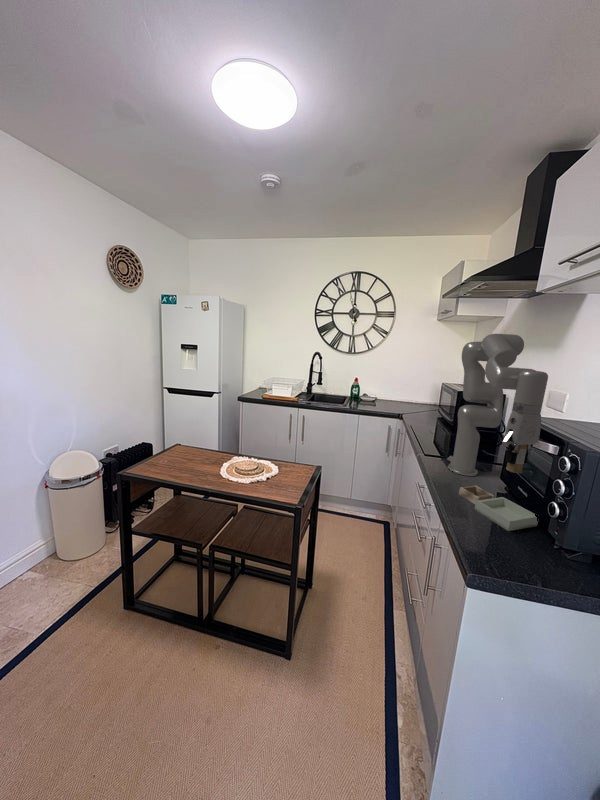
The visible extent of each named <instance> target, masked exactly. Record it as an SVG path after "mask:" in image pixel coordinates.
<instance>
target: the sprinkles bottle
mask: <svg viewBox="0 0 600 800" xmlns="http://www.w3.org/2000/svg"><path fill="white" fill-rule="evenodd" d="M512 442H514V441H512ZM512 446H513V447H514V444H512ZM526 450H527V445H519V446H518V448H517V451H516V453H517V458H516V463H515V464H511V463H509V462H506V463H507V464H506V467H505V469H506V471H508V472H510V473H514V474H522V473H523V467H524V464H525V463H524V460H525V455H526Z"/></svg>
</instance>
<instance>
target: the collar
mask: <svg viewBox="0 0 600 800" xmlns="http://www.w3.org/2000/svg"><path fill="white" fill-rule="evenodd" d="M458 495H459V496H460V497H462V498H463V499H465V500H467V501H468V502H470V503H472V504H473V505H475V504H476V501H478V500H485V499H492V498H495V495H494V494H492V493H490V492H489V491H487V490H485V489H483V488H481V487H480V486H478V485H470V486H461V487H459V490H458Z"/></svg>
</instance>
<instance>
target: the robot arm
mask: <svg viewBox="0 0 600 800" xmlns="http://www.w3.org/2000/svg"><path fill="white" fill-rule="evenodd" d="M524 349H525V341H524V339H523V338H522V337H521V335H519V334H513V333H512V334H510V333H509V334H508V333H491V334H487V335H486V336H484V338H483V339H482V341H470V342H467V343H466V344H465V345H464V346H463V348H462V351H461V363H462V367H463V374H464V375H463V385H462V386H463V388H462V398H463V399H464V400H465V401H467V402H469V403H476V405H475V404H464V405H462V406H460V407H459V409H458V411H457V431H456V435H455V436H456V437H455V443H454V450H453V455H449V456H448V457H447V458H446V460H448V461H449V462H450V463H449V464H448V465H447V469H448V468H449V469H450V471H451V472H452V471H453V472H452V473H454V474H457V475H461V476H465V477H466V476H467V477H475V476H477V475H478V473H479V472H478V470H477V468H475V467H476V463H477V458H478V457H477V456H478V452H479V445H480V439H481V435H480V433H479V431H478V430H477V427H481V428H492V429H494V428H498V427H499V426H500V425H501V423H502V418H503V406H504V404H503V403H504V390H513V391H515V392H514V394H515V395H514V398H513V403H512V408H511V412H510V415H509V417H508V421H507V424H506V428H505V432H504V439H503V440H502V441H501V443H502V444H503V445H504V446H505V450H506V454H505V458H504V461H505V462H506V463H508V462H509V463H511V464H515V463H516V458H517V453H516V451H517V448H518V446H519V445H527V450H526V455H525V460H524V464H527V463H528V458H529V455H530V452H531V449H532V447H533V446H534V445H536V444H538V442H539V440H540V435H541V428H542V414H541V412H542V409H543V404H544V400H545V399H544V398H545V395H546V390H547V384H548V380H549V375H548V373H547V372H545V371H541V370H535V369H533V368H524V367H522V368H520V367H511V366H512V365H513V364H514V363H515V362H516V361H517V358H518V356H520V354H521V353H523V350H524ZM480 362H486V364H485V368H484V367H483V365H482V364H481V363H480ZM486 379H487V380H488V382H487V381H486ZM477 403H479V404H487V405H477ZM512 441H514V442H512ZM512 444H514V447H513V446H512ZM533 444H534V445H533ZM449 469H448V470H449Z"/></svg>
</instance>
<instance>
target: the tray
mask: <svg viewBox="0 0 600 800" xmlns="http://www.w3.org/2000/svg"><path fill="white" fill-rule="evenodd" d="M474 511H475V512H478V513H479V514H480V515H482V516H484V517H485V518H486V519H488V520H490V521H491V522H493V523H494V524H497V526H500V527H501V528H503V529H504V530H506V532H507V531H508V532H512V531H516V530H517V531H518V530H522V529H527V528H533V527H537V526H538V522H539V520H538V521H537V517H536V516H535V514H536V513H534V512H532V511H530V510H528V509H526V508H524V507H522V506H521V505H519V504H517V503H515V502H514V501H511V500H509V499H507V498H506V497H504V496H501V497H494V498H492V499H485V500H478V501H476V504H474Z"/></svg>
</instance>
